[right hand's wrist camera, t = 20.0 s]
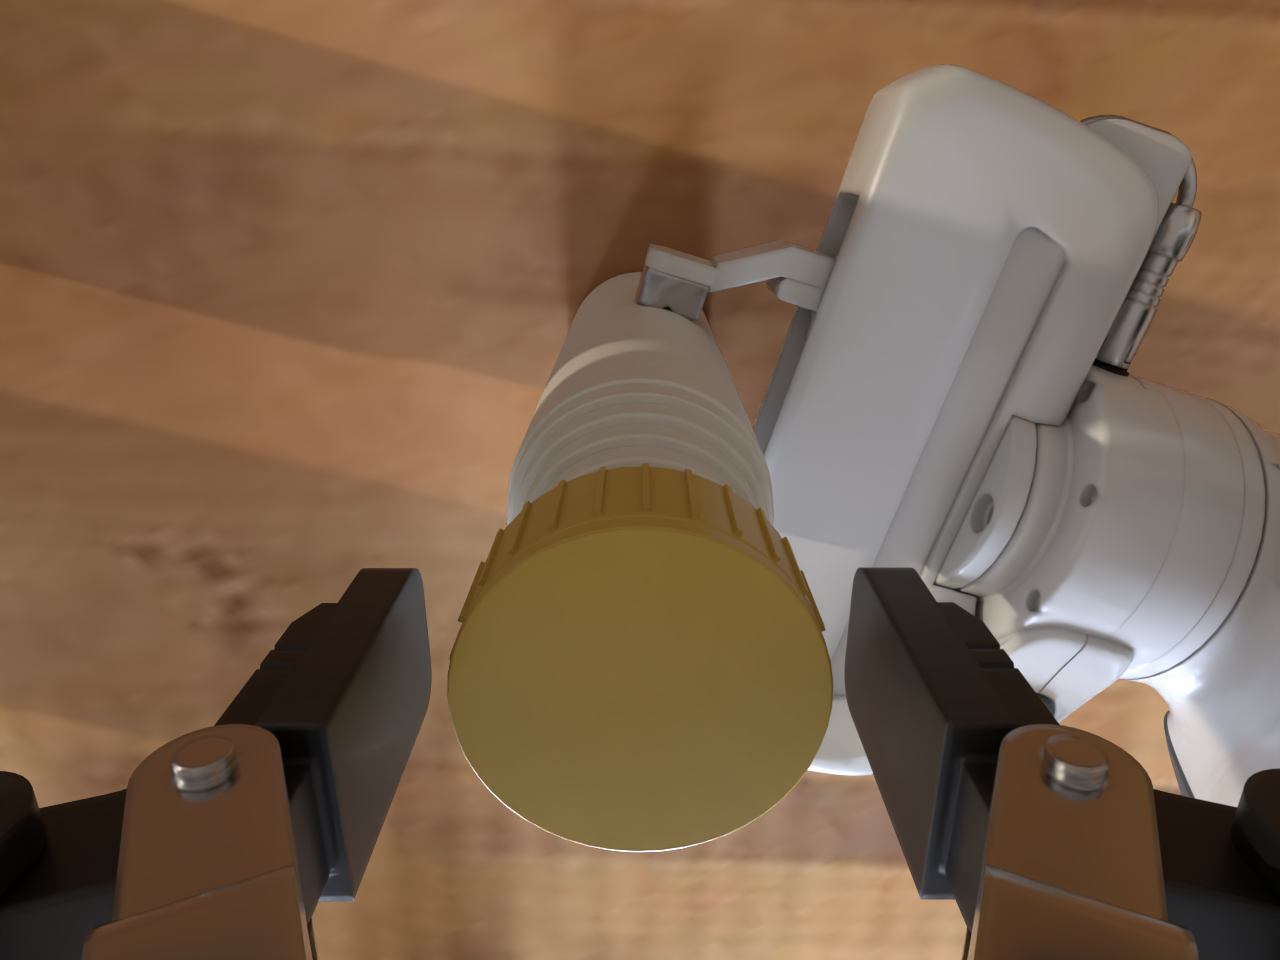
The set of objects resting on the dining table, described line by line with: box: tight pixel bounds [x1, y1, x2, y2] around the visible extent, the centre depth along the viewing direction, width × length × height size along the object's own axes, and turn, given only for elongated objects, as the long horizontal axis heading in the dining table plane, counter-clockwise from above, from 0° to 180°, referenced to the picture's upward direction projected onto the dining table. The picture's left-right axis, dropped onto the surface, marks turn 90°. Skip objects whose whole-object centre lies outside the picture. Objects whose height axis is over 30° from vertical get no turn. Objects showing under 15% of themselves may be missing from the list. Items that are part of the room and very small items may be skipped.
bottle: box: [507, 272, 774, 526], centre depth 20 cm, size 5×5×21 cm
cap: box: [447, 463, 833, 852], centre depth 11 cm, size 5×5×2 cm
